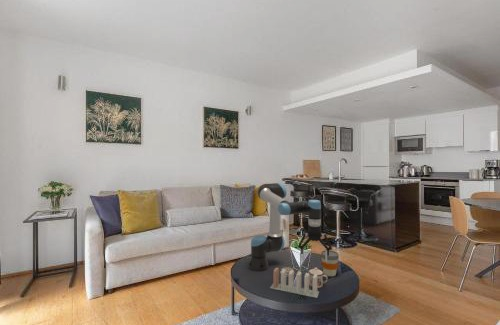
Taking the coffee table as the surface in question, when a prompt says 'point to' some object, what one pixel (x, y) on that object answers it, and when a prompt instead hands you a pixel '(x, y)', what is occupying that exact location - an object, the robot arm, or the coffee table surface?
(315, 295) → the domino
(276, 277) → the domino
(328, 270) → the reusable coffee cup
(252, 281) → the coffee table surface
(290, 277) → the domino
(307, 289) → the domino
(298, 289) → the domino
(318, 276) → the teacup with lid
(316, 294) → the strip
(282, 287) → the domino
